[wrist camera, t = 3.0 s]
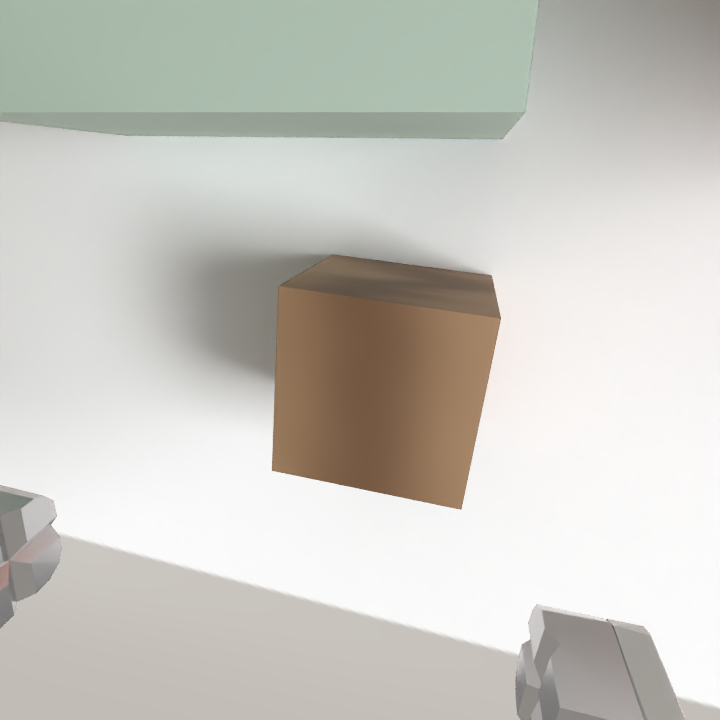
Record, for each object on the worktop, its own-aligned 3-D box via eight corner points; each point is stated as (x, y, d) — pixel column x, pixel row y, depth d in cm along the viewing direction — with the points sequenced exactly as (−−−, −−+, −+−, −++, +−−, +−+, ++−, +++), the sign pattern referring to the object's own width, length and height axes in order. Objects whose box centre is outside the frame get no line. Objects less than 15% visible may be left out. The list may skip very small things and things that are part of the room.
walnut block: (491, 275, 18) (500, 318, 13) (463, 419, 20) (461, 509, 15) (333, 254, 19) (278, 286, 14) (322, 394, 21) (272, 470, 16)
